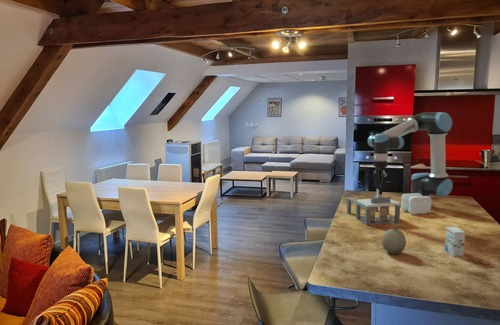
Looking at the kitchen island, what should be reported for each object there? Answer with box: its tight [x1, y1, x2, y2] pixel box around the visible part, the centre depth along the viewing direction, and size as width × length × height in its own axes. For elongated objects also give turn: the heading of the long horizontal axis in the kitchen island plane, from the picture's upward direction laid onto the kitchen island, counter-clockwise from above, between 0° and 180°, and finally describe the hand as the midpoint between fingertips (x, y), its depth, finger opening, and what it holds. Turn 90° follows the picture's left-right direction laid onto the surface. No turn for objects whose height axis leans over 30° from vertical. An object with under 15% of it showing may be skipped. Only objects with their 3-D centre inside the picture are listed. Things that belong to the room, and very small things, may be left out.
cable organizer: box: [400, 193, 432, 216], centre depth 252 cm, size 15×11×12 cm
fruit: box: [381, 219, 409, 255], centre depth 183 cm, size 10×12×15 cm
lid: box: [356, 196, 401, 208], centre depth 232 cm, size 21×14×4 cm
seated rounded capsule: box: [370, 207, 376, 222], centre depth 233 cm, size 5×5×9 cm
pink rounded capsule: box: [378, 206, 388, 221], centre depth 234 cm, size 5×5×9 cm
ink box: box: [444, 226, 466, 257], centre depth 182 cm, size 9×5×12 cm, turn 178°
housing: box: [346, 195, 401, 226], centre depth 240 cm, size 21×27×11 cm
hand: (379, 199), depth 230 cm, fingers closed
